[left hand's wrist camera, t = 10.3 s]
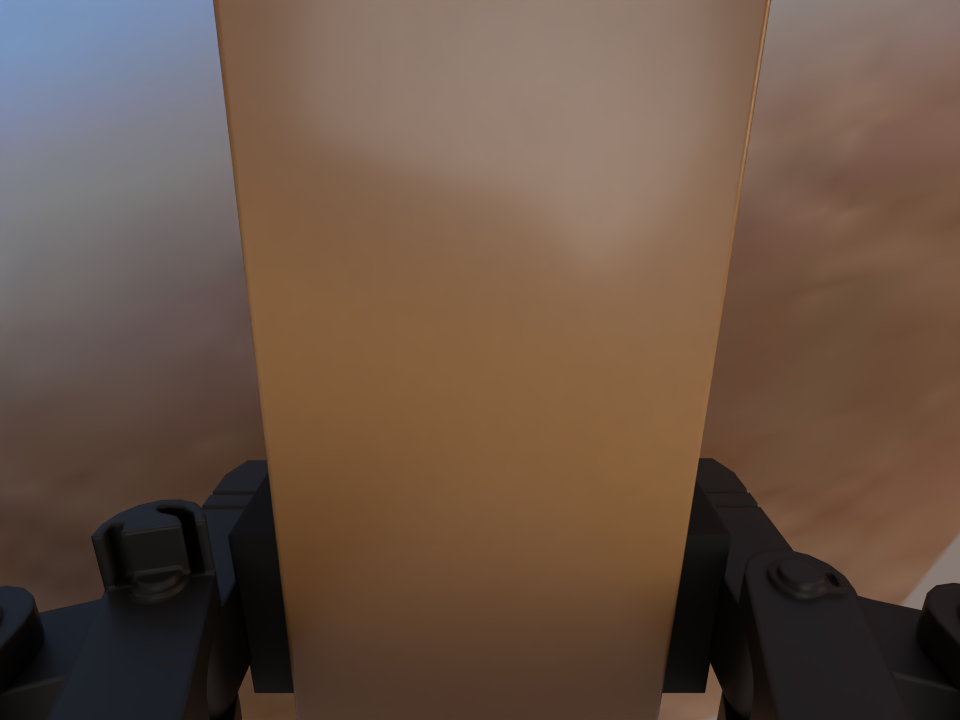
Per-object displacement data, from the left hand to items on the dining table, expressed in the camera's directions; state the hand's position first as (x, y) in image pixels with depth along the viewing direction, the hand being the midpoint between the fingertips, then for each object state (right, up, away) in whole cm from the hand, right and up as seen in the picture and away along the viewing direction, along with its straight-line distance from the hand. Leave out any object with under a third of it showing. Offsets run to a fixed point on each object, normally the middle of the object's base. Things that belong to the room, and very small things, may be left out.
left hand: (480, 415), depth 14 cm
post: (0, +24, -8) cm, 25 cm away
